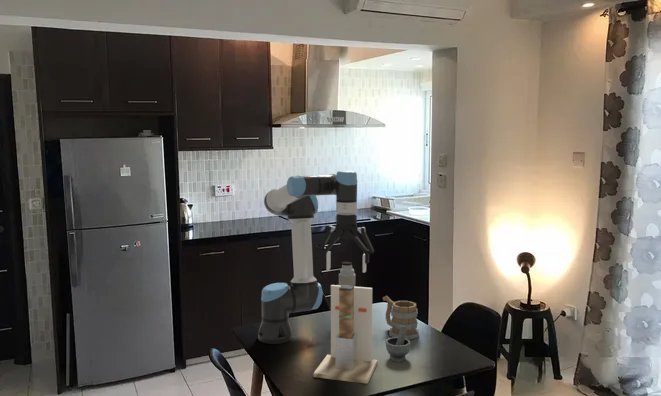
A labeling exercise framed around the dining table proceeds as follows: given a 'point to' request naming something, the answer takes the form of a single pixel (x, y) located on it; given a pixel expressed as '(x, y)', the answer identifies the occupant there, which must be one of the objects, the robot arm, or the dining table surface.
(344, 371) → the birch base plate
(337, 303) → the board
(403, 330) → the mortar and pestle
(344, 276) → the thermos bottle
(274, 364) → the dining table surface
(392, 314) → the tankard
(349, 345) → the metal sleeve
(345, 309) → the oak post
